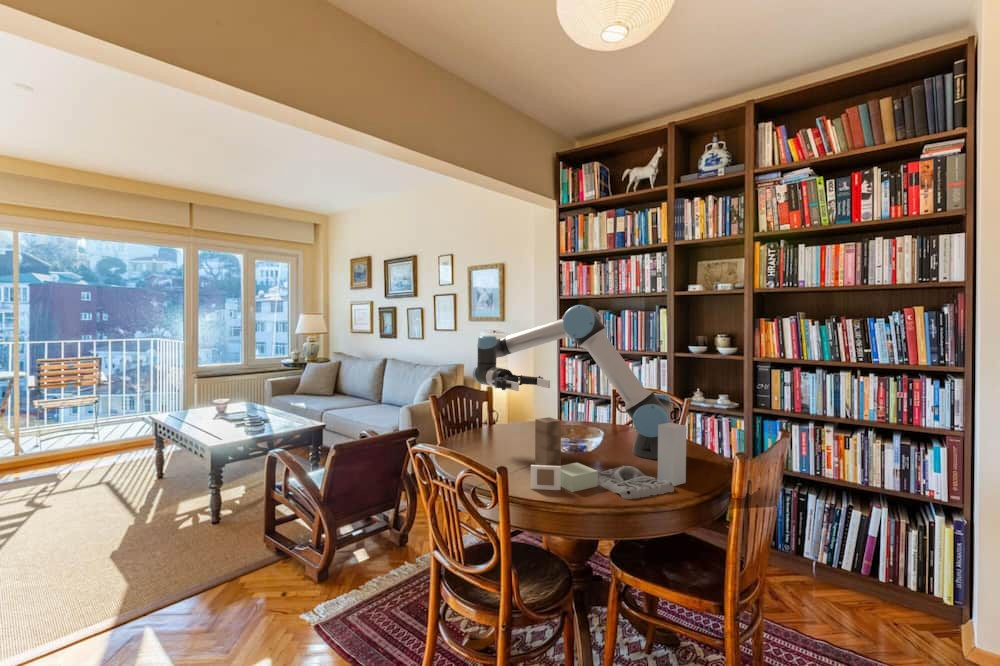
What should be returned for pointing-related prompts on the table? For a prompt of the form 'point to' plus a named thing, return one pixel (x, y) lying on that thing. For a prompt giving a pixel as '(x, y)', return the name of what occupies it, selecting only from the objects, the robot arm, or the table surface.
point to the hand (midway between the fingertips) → (534, 385)
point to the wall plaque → (632, 482)
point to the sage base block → (578, 477)
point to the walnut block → (548, 442)
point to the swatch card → (545, 477)
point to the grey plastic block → (672, 453)
